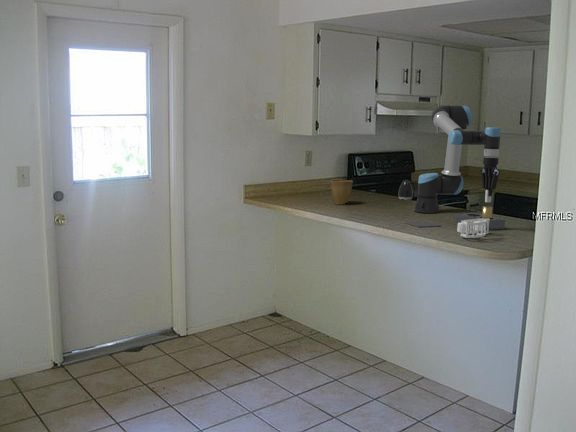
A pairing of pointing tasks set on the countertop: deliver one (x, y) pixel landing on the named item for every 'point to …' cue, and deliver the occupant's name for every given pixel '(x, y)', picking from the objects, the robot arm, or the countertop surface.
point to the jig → (493, 223)
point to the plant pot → (341, 190)
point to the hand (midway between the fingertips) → (487, 202)
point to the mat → (423, 224)
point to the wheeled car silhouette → (478, 228)
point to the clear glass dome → (405, 190)
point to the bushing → (487, 212)
